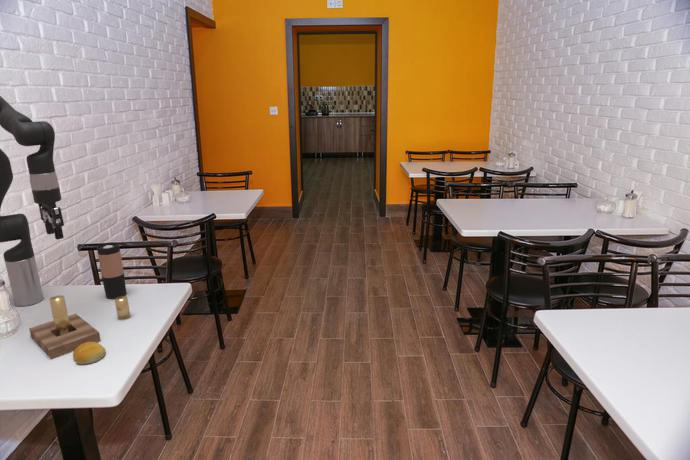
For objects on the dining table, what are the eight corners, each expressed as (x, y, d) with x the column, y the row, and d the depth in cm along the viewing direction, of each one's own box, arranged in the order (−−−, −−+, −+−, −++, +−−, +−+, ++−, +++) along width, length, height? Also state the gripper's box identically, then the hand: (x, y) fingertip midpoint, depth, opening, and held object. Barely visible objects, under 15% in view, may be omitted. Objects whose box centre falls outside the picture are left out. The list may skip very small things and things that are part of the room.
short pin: (115, 317, 169) (112, 298, 167) (127, 313, 172) (124, 295, 170) (120, 321, 167) (117, 302, 165) (132, 317, 169) (129, 298, 167)
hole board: (30, 336, 157) (28, 328, 157) (77, 321, 167) (75, 313, 166) (51, 358, 144) (49, 349, 143) (100, 340, 154) (99, 332, 153)
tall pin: (56, 339, 156) (47, 298, 152) (69, 334, 158) (61, 294, 154) (60, 343, 153) (51, 301, 149) (74, 338, 156) (66, 297, 152)
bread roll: (79, 368, 139) (76, 356, 138) (71, 356, 145) (68, 344, 144) (110, 358, 144) (107, 345, 143) (101, 346, 151) (98, 335, 149)
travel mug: (100, 298, 185) (91, 247, 180) (116, 290, 192) (108, 241, 187) (116, 300, 183) (107, 249, 177) (131, 292, 189) (123, 243, 184)
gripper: (25, 186, 157) (35, 234, 161) (39, 191, 147) (49, 243, 152) (51, 182, 162) (60, 229, 167) (66, 187, 152) (75, 237, 157)
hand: (55, 236), depth 159 cm, fingers open, 8 cm apart
